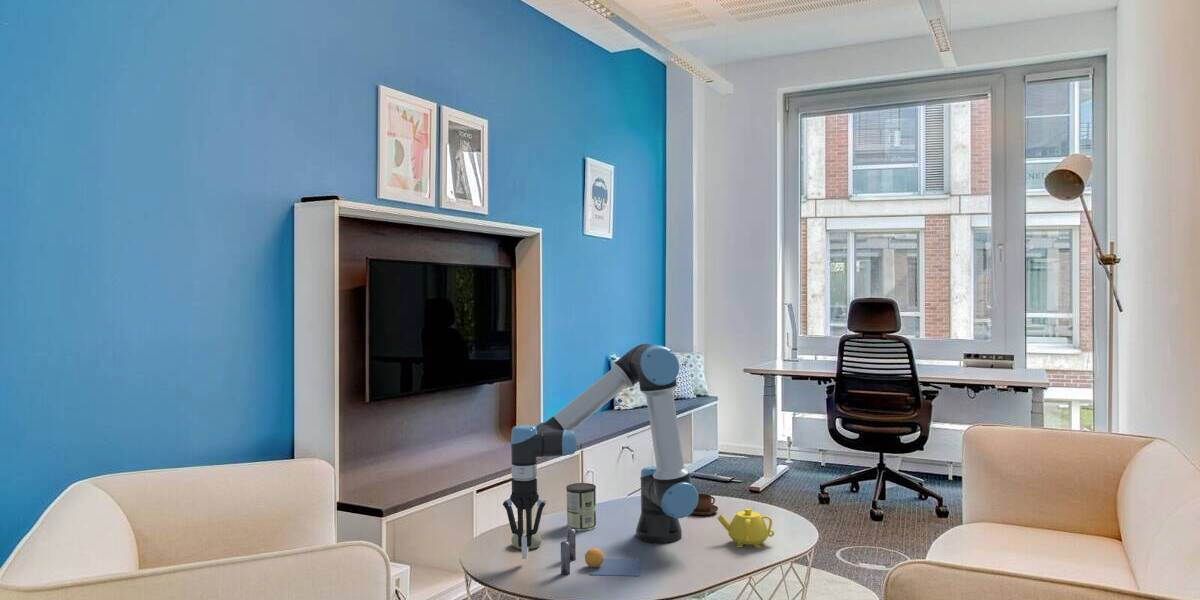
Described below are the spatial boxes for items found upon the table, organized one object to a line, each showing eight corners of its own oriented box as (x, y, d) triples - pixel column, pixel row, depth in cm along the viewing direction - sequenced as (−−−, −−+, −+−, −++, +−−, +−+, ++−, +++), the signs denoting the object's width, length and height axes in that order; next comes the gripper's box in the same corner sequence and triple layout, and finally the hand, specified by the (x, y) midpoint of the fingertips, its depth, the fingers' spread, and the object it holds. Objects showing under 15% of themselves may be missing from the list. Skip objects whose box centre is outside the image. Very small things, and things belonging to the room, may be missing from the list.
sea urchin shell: (539, 545, 247) (521, 526, 248) (522, 563, 248) (504, 543, 249) (547, 536, 256) (530, 517, 257) (530, 553, 257) (513, 534, 258)
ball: (582, 557, 235) (598, 567, 235) (580, 563, 230) (596, 574, 229) (592, 541, 235) (607, 552, 234) (590, 547, 229) (606, 558, 229)
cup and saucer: (696, 506, 298) (696, 490, 298) (724, 512, 290) (724, 495, 290) (678, 513, 289) (678, 496, 289) (707, 519, 281) (706, 502, 281)
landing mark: (640, 559, 238) (640, 559, 238) (638, 576, 224) (638, 575, 224) (594, 558, 239) (594, 558, 239) (589, 575, 225) (589, 574, 225)
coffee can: (577, 521, 280) (577, 481, 280) (601, 525, 274) (601, 484, 274) (560, 528, 271) (560, 487, 271) (585, 532, 266) (585, 491, 266)
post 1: (570, 572, 228) (570, 541, 228) (569, 575, 225) (569, 543, 225) (561, 571, 228) (561, 541, 228) (560, 575, 226) (560, 543, 225)
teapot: (748, 534, 263) (748, 500, 263) (778, 544, 251) (778, 509, 251) (716, 542, 255) (715, 507, 255) (745, 553, 243) (745, 517, 243)
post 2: (576, 557, 240) (575, 528, 240) (575, 560, 238) (574, 530, 238) (567, 557, 241) (567, 528, 241) (566, 560, 238) (566, 530, 238)
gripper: (499, 480, 231) (500, 560, 231) (543, 481, 230) (544, 561, 230) (505, 474, 238) (506, 552, 239) (548, 475, 237) (548, 553, 237)
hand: (525, 557), depth 234 cm, fingers closed
